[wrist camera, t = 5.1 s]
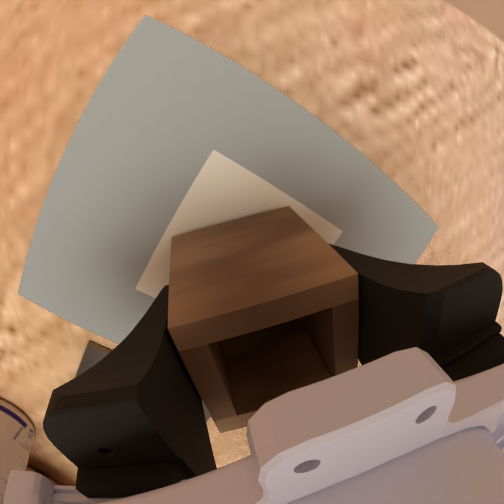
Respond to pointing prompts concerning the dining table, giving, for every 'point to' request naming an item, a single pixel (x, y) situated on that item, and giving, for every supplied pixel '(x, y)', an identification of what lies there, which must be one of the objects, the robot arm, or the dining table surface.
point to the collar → (260, 311)
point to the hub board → (194, 180)
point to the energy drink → (13, 442)
